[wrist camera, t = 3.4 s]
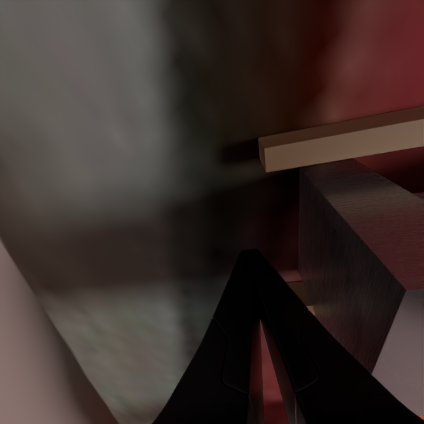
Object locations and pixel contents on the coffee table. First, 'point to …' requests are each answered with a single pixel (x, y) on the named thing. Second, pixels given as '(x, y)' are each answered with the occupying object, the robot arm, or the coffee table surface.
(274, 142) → the cradle rails
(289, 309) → the robot arm
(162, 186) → the coffee table surface
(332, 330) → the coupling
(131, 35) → the coffee table surface
